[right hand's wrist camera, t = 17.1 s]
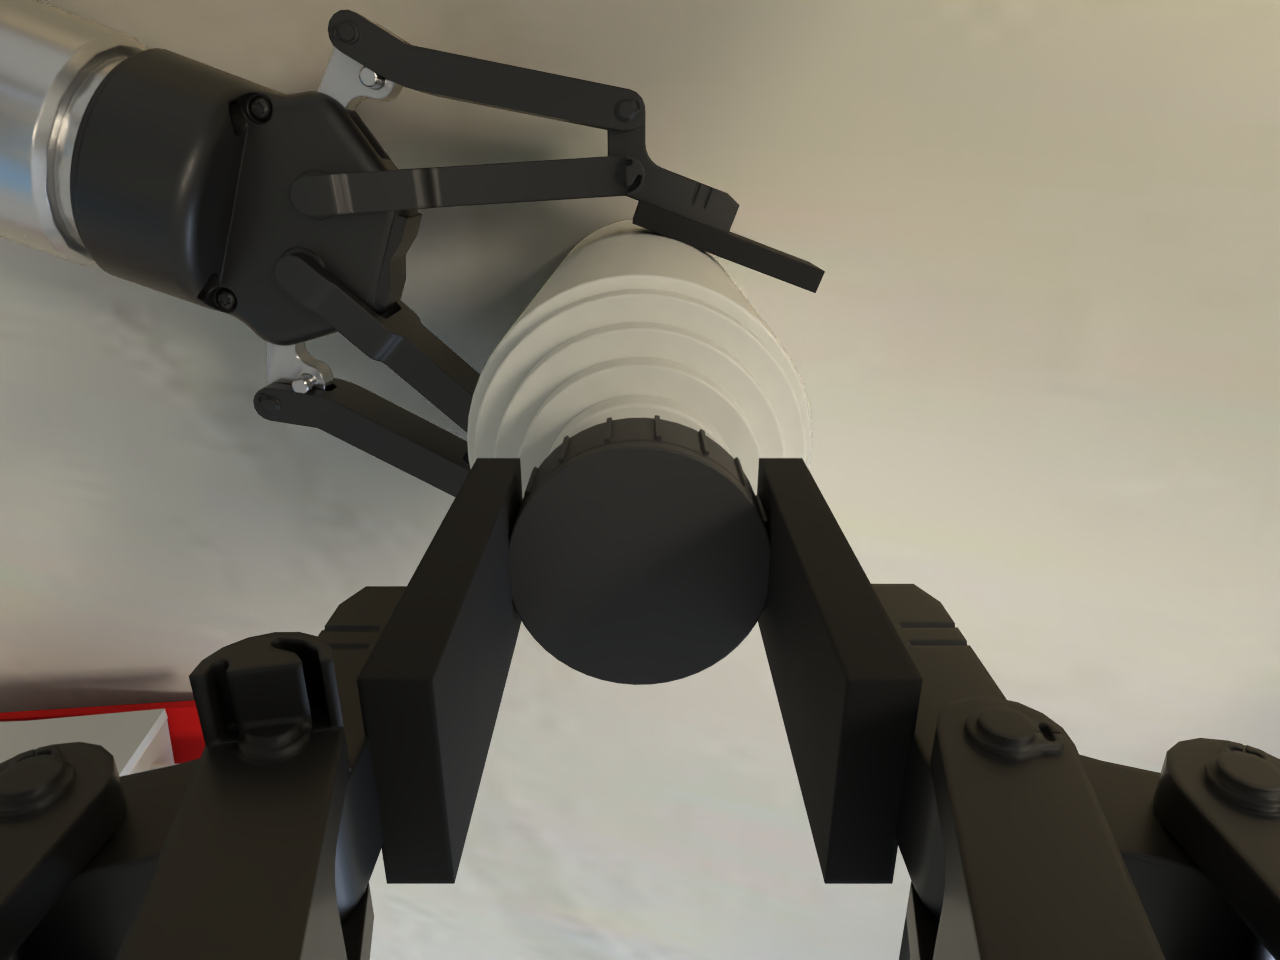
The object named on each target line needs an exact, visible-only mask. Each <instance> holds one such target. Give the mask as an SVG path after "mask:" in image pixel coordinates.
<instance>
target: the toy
mask: <svg viewBox="0 0 1280 960" xmlns="http://www.w3.org/2000/svg"><path fill="white" fill-rule="evenodd" d="M71 742H85V743H90V744H96V745H101V746H102V747H104V748H105V749H106V750H107V751H108V752H110V753H111V754H112V755H113V757H114V760H115V764H116V767H117V771H118V774H119V777H120V776H125V775H130V774H134V773H139V772H144V771H149V770H153V769H158V768H163V767H168V766H172V765H177V764H181V763H184V762H188V761H192V760H195V759H199V758H200V757H201V755H202V753H203V750H204V748H205V742H204V737H203V733H202V729H201V725H200V720H199V716H198V712H197V708H196V704H195V700H193V701H177V702H161V703H145V704H130V705H114V706H98V707H82V708H67V709H51V710H35V711H20V712H4V713H0V763H2V762H4V761H6V760H8V759H10V758H13V757H14V756H16V755H18V754H20V753H23V752H26V751H29V750H32V749H34V750H35V749H38V748H39V747H44V746H48V745H52V744H61V743H71Z"/></svg>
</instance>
